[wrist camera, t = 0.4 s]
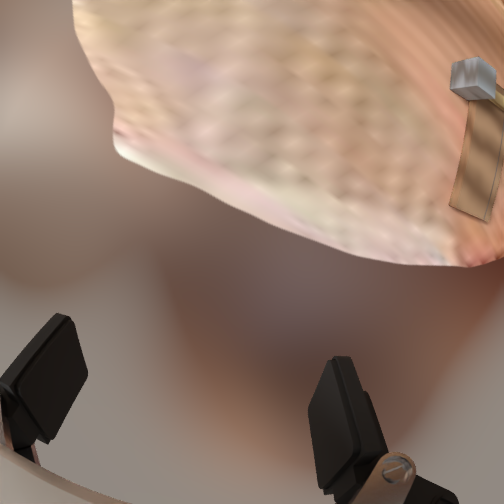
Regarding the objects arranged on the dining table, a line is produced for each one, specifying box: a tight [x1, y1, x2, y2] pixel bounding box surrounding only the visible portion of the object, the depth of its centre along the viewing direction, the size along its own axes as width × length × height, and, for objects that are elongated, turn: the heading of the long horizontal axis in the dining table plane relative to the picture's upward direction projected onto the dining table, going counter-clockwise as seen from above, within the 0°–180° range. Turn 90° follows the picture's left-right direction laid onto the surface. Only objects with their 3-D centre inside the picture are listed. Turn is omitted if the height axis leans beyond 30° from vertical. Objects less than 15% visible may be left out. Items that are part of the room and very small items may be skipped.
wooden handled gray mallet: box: [450, 57, 504, 111], centre depth 26 cm, size 5×13×7 cm, turn 79°
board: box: [449, 83, 504, 222], centre depth 32 cm, size 24×9×2 cm, turn 169°
